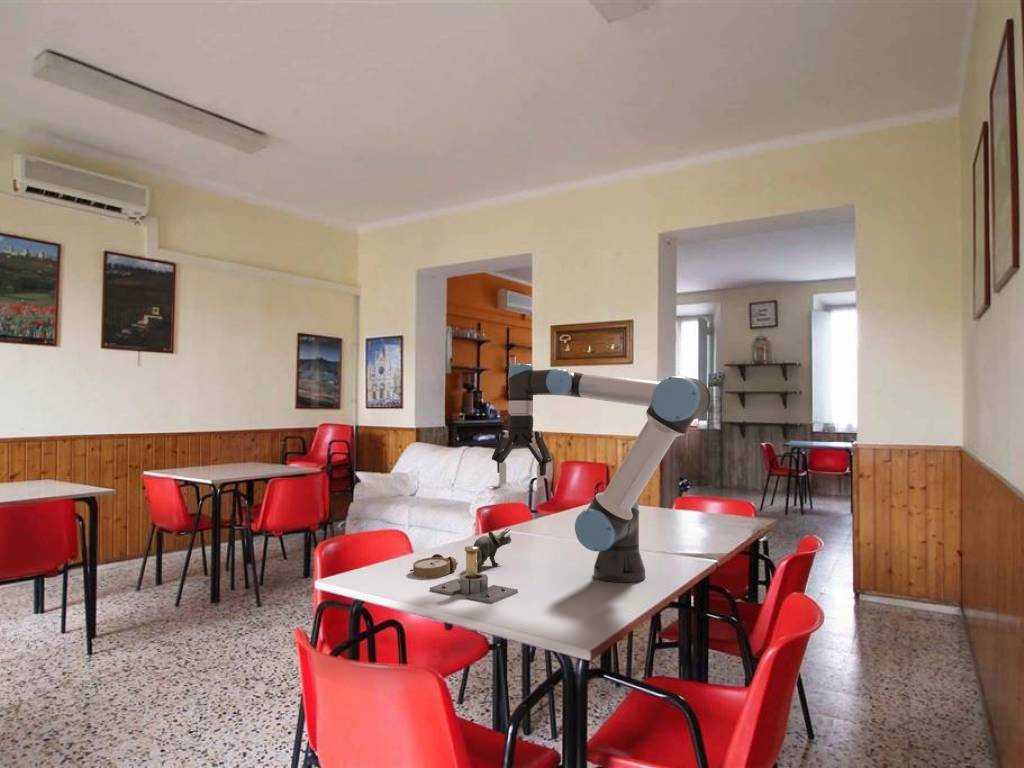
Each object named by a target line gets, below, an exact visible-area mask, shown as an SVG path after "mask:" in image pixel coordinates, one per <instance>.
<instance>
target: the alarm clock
mask: <svg viewBox="0 0 1024 768" xmlns="http://www.w3.org/2000/svg"><path fill="white" fill-rule="evenodd" d="M458 565H459V562H458V561H457V559H456V558H455V557H453V556H450V555H449V556H447V557H444V556H443V555H442V554H440V553H439V554H438V553H436V554H434V555H432V556H431V557H425V558H421V559H418V560H416V561H414V562H413V563H412V566H413V569H412V568H411V569H410V570H409V572H413V575H414V576H415V577H417V578H422V579H425V578H426V579H427V578H428V579H436V578H441V577H444V576H447V575H449V574H450V573H453V572H455V571H456V570H457V566H458Z"/></svg>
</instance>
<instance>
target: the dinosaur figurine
mask: <svg viewBox="0 0 1024 768" xmlns="http://www.w3.org/2000/svg"><path fill="white" fill-rule="evenodd" d="M510 531H511V528H508V527H507V528H506V529H504V530H502V531H501V532H500V533H499V534H498V535H496V534H494V533H493V532H492V531H490V530H489V531H488V536H487V535H482V536H481V537H479V538H477V539H476V540H475V541H474V544H473V546H477V547H478V548H479V550H478V551H477V572H478V571H479V572H481V573H482V572H483V569H482V565H485V562H486V561H487V560H488V559H489V561H490V563H491V566H492V567H497V566H499V563H498V562H496V559H495V556H496V554H497V551H498V549H500V548H501V547H502V546H503V547H504V546H506V545H510V543H512V538H511V534H509V535H507V534H508V533H509V532H510ZM506 535H507V536H506Z"/></svg>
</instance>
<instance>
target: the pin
mask: <svg viewBox="0 0 1024 768" xmlns="http://www.w3.org/2000/svg"><path fill="white" fill-rule="evenodd" d="M478 550H479V548H478V547H477V546H474V545H468V546H465V547H464V552H465V574H466V578H468V579H477V573H478V570H477V551H478Z"/></svg>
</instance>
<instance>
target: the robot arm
mask: <svg viewBox="0 0 1024 768" xmlns="http://www.w3.org/2000/svg"><path fill="white" fill-rule="evenodd" d="M507 380H508V381H507V382H508V408H507V410H508V414H509V416H508V428H509V430H501V431H500V432H499V439H498V442H497V444H496V447H495V449H494V451H493V454H492V456H491V460H492V461H495V462H496V463H497V469H496V470H497V473H498V480H499V481H498V482H499V483H498V484H499V485H506V484H507V462H506V461H505V460H507V458H508V457H509V455H510V453H511V452H512V450H514V448H516V447H518V446H521V447H526V448H528V449H529V451H530V453H531V454H532V455H533V457H534V458H535V460H536V461H537V463H538V464H536V488H541V487H542V488H543V487H545V486H544V485H545V483H544V481H545V480H544V479H545V477H544V476H546V474H547V464H549V463H551V462H553V460H552V457H551V454H550V452H549V450H548V448H547V447H548V446H547V445H546V443H545V440H544V438H543V431H541V430H535V431H534V430H533V429H534V416H533V414H534V396H564V397H574V398H581V399H582V398H583V399H589V400H597V401H605V402H612V403H617V404H618V403H619V404H624V405H625V404H626V405H632V406H640V407H647V410H646V411H645V414H646V419H647V421H646V423H645V424H644V426H643V427H642V429H641V431H639V434H638V436H637V437H636V439H635V441H634V442H633V444H632V446H631V447H630V449H629V450H628V452H627V454H626V455H625V457H624V459H623V460H622V462H621V464H620V465H619V467H618V468H617V470H616V472H615V473H614V475H613V477H612V478H611V480H610V482H609V484H608V485H607V486H606V488H605V490H604V491H602V492H598V493H596V495H594V497H593V499H592V500H591V502H590V504H589V505H588V507H587V508H586V509H584V510H582V511H581V512H580V513H579V514H578V515H577V517H576V519H575V521H574V532H575V535H576V539H577V540H578V542H579V543H580V544H581V545H582V546H583V547H584V548H585V549H586V550H589V551H592V552H598V553H597V556H596V559H595V562H594V563H595V564H594V566H593V576H594V578H596V579H598V580H601V581H605V582H612V583H634V582H635V583H636V582H640V581H643V580H644V579H646V568H645V565H644V561H643V559H642V555H641V552H640V516H639V515H640V510H639V502H638V501H637V500H638V499H639V497H640V495H642V492H643V491H644V489H645V487H646V485H647V484H648V483H649V481H650V480H651V478H652V476H654V473H655V472H656V469H657V468H658V466H659V465H660V463H661V461H662V460H663V458H664V456H665V455H666V454H667V452H668V450H669V449H670V447H671V445H672V444H673V443H674V441H675V439H676V438H677V437H680V436H681V437H682V436H685V434H686V433H687V431H688V430H689V428H690V427H691V425H692V423H693V422H694V421H695V420H698V419H700V418H702V417H703V416H704V415H706V413H707V412H708V411H709V409H710V407H711V405H712V393H711V392H710V389H709V388H708V386H707V385H706V384H705V382H703V381H701V380H700V379H697V378H694V377H693V378H692V377H687V376H685V375H672V376H668V377H666V378H664V379H662V380H661V381H652V380H645V379H636V378H635V379H634V378H626V377H618V376H609V375H600V374H592V373H582V372H575V371H569V370H567V369H565V368H562V369H561V368H553V369H537V370H535V369H534V366H533V364H530V363H514V364H513V363H512V364H510V365H509V367H508V377H507ZM508 438H509V440H508ZM533 438H534V440H535V441H534V440H533ZM507 441H508V442H507ZM535 442H536V443H535Z"/></svg>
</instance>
